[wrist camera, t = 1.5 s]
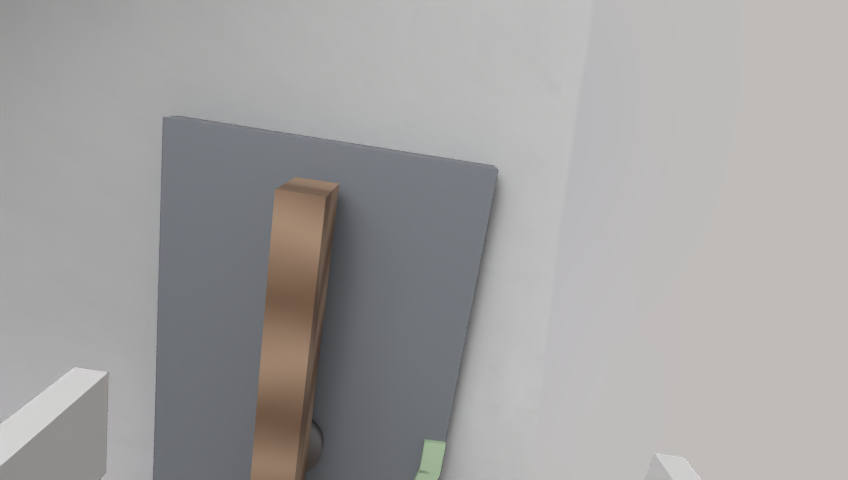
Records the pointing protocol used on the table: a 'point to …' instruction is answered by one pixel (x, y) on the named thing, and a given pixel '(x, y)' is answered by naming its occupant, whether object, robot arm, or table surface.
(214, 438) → the plate
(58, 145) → the table surface
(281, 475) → the brown wooden bar
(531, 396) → the table surface
